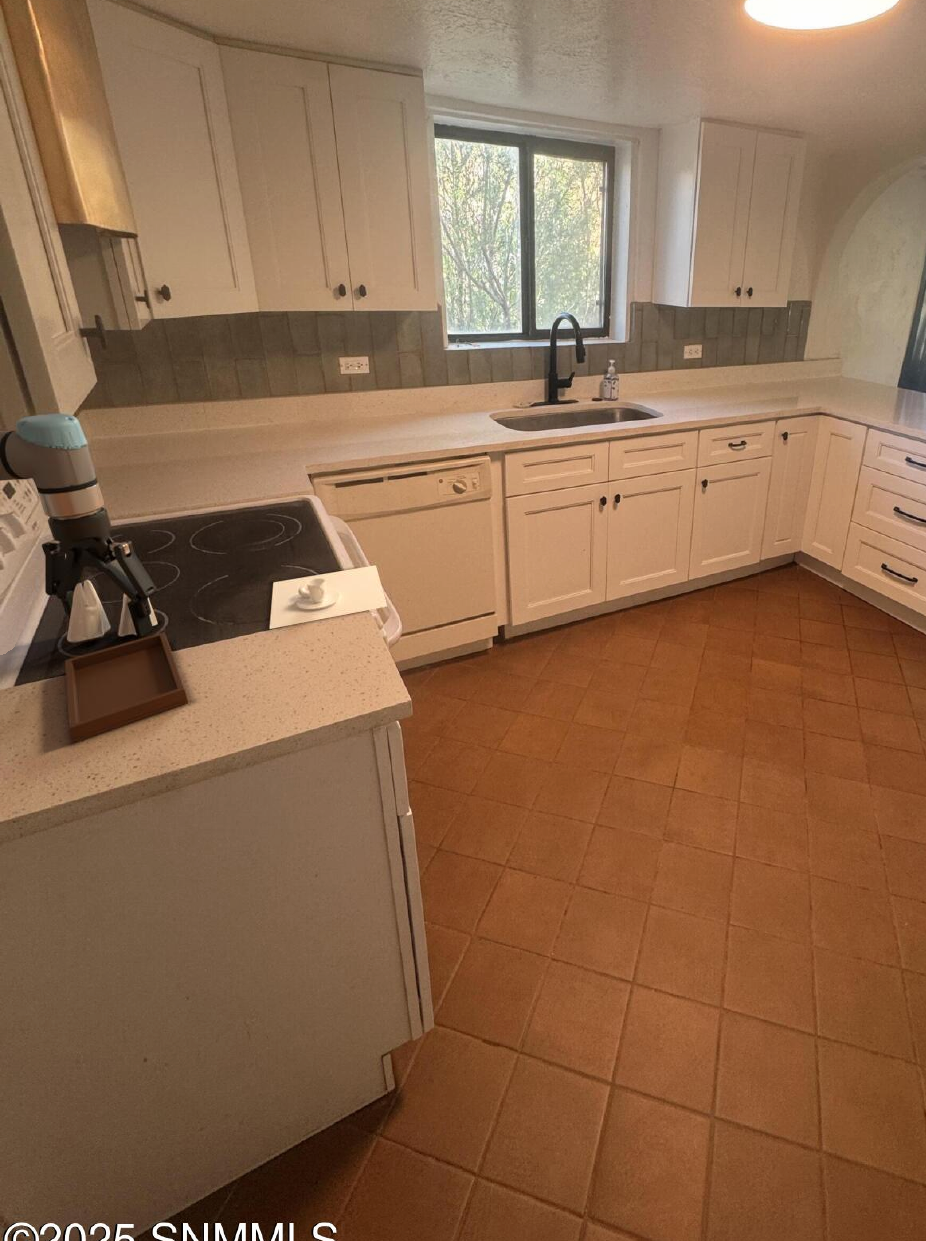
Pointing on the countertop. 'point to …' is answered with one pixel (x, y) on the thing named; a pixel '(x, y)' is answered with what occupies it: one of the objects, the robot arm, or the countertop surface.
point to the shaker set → (96, 616)
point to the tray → (121, 686)
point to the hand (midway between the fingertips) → (114, 631)
